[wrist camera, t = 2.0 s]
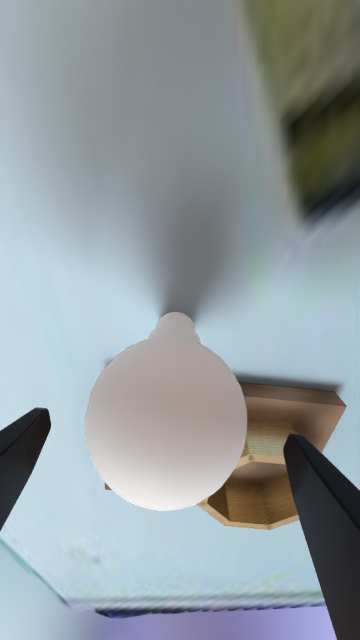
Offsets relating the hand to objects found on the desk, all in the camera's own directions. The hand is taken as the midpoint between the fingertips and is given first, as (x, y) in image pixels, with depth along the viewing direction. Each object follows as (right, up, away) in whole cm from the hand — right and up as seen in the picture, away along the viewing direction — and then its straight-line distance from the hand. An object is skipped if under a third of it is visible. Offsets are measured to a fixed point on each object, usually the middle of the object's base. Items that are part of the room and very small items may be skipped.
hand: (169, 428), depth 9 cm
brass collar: (+6, -8, +11) cm, 15 cm away
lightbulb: (0, +4, +8) cm, 9 cm away
